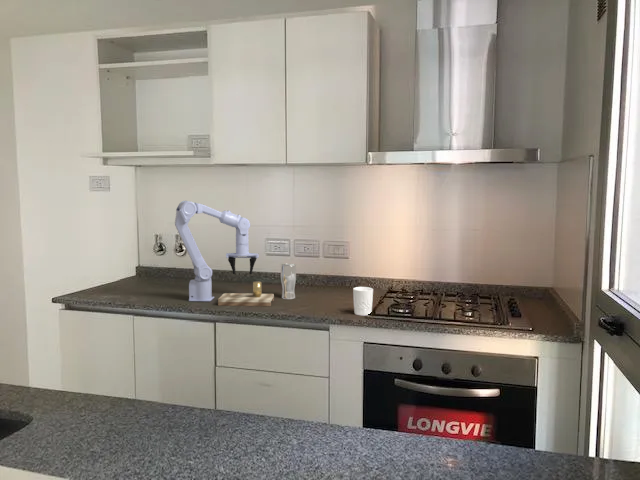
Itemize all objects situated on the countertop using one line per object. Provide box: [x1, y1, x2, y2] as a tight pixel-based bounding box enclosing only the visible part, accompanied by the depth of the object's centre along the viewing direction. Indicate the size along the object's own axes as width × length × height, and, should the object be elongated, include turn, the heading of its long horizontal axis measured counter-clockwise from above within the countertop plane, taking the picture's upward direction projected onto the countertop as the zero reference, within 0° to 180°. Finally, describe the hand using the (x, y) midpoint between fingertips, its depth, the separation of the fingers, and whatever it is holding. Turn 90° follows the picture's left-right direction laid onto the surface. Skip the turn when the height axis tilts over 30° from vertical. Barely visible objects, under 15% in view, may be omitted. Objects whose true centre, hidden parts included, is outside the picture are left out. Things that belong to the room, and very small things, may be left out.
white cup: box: [352, 286, 374, 317], centre depth 206 cm, size 8×8×10 cm
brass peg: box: [252, 280, 263, 297], centre depth 224 cm, size 4×4×9 cm
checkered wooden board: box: [217, 292, 275, 307], centre depth 224 cm, size 22×12×3 cm, turn 88°
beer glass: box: [280, 263, 297, 300], centre depth 234 cm, size 7×7×15 cm
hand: (242, 273), depth 237 cm, fingers open, 7 cm apart
